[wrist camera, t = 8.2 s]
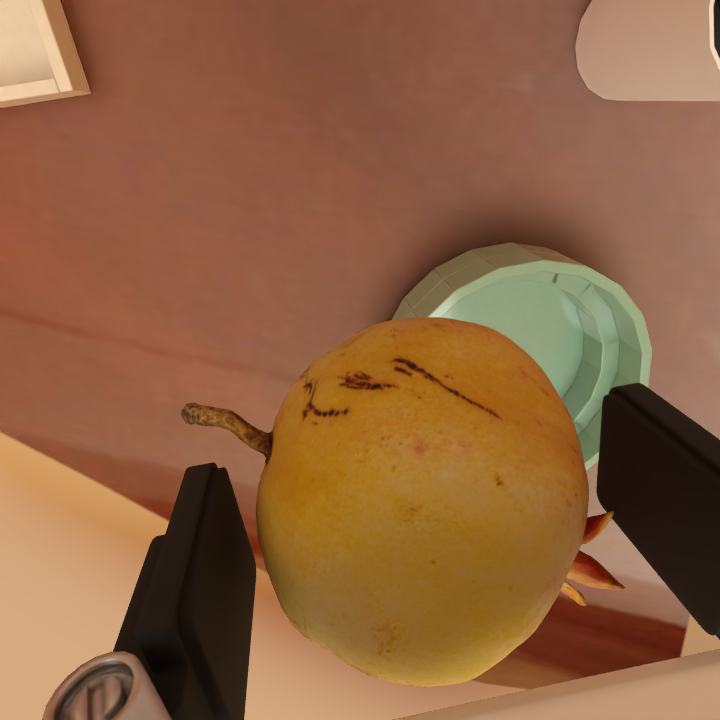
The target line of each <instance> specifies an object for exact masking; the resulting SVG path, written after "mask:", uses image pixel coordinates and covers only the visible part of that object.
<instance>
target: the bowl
mask: <svg viewBox="0 0 720 720" xmlns="http://www.w3.org/2000/svg"><path fill="white" fill-rule="evenodd" d="M415 317H442V318H449V319H456V320H461V321H466V322H471V323H476V324H480V325H483V326H486V327H489V328H491V329H494V330H496V331H498V332H499V333H501V334H503V335H505V336H506V337H508V338H510V339H511V340H512V341H513V342H514V343H516V344H517V345H518V346H519V347H521V348H522V349H523V350H524V351H525V352H526V353H527V354H529V355H530V356H531V357H532V358H533V359H534V360H535V361H536V362H537V364H538V365H539V366H540V367H541V368H542V369H543V371H544V372H545V374H546V375H547V376H548V378H549V380H550V381H551V383H552V385H553V386H554V388H555V390H556V391H557V393H558V394H559V396H560V398H561V399H562V401H563V402H564V404H565V405H566V407H567V409H568V411H569V413H570V415H571V418H572V420H573V422H574V426H575V429H576V432H577V435H578V439H579V442H580V445H581V450H582V454H583V458H584V464H585V469H586V470H588V469H589V468H590V467H591V466H593V465H594V464H595V463H597V462H598V460H599V445H600V430H601V415H602V401H603V398H604V396H605V395H609V391H610V389H611V388H613V387H616V386H622V385H627V384H632V383H641V384H643V385H645V386H646V387H647V388H648V386H649V376H650V367H651V357H652V347H651V343H650V339H649V335H648V331H647V327H646V323H645V320H644V316H643V314H642V313H641V311H640V310H639V309H638V307H637V306H636V305H635V303H634V302H633V301H632V299H631V298H630V297H629V295H628V294H627V293H626V291H625V290H624V289H623V287H622V286H621V285H620V284H618V283H616V282H614V281H613V280H611V279H609V278H607V277H606V276H604V275H602V274H600V273H599V272H597V271H595V270H593V269H591V268H590V267H588V266H586V265H584V264H582V263H579V262H577V261H575V260H573V259H571V258H569V257H566V256H564V255H562V254H560V253H558V252H556V251H554V250H551V249H549V248H545V247H538V246H532V245H525V244H519V243H504V244H499V245H493V246H487V247H482V248H476V249H472V250H469V251H467V252H465V253H463V254H461V255H459V256H457V257H455V258H453V259H451V260H449V261H447V262H446V263H444V264H442V265H440V266H438V267H436V268H434V269H433V270H432V271H431V272H430V273H429V274H428V275H427V276H426V277H425V278H424V279H423V280H422V281H421V282H420V283H419V284H417V285H416V286H415V287H414V288H413V289H412V290H411V291H410V292H409V293H408V294H407V295H406V296H405V298H403V300H402V302H401V303H400V305H399V307H398V309H397V311H396V312H395V314H394V316H393V318H392V320H397V319H406V318H415Z"/></svg>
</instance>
